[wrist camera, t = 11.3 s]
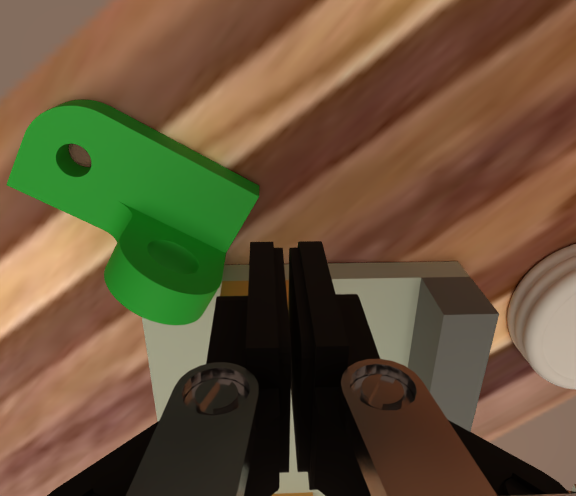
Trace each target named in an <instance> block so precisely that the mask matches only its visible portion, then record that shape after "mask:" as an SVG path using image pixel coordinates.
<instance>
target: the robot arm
mask: <svg viewBox="0 0 576 496" xmlns="http://www.w3.org/2000/svg"><path fill="white" fill-rule="evenodd" d="M291 397H292V410H293V422H294V435H295V447H296V460H297V470H298V472H308V480H309V490H319V491H320V492H321V493H323V494H324V495H325V496H576V484H574V486H573V488H572V491H568V490H566V489H565V488H564V487H563V486H562V485H561V484H560V483H559V482H557V481H556V480H554V479H553V478H551V477H550V476H548V475H547V474H545V473H544V472H542V471H540V470H538V469H537V468H535V467H533V466H531V465H529V464H527V463H526V462H524V461H522V460H520V459H518V458H517V457H515V456H513V455H511V454H509V453H508V452H506V451H504V450H502V449H500V448H498V447H497V446H495V445H493V444H491V443H489V442H488V441H486V440H484V439H482V438H480V437H479V436H477V435H475V434H473V433H471V432H469V431H468V430H466V429H464V428H462V427H460V426H459V425H457V424H455V423H453V422H451V421H450V420H448V419H447V418H446V416H445V415H444V413H443V412H442V410H441V409H440V407H439V406H438V404H437V403H436V401H435V400H434V398H433V397H432V395H431V393H430V392H429V390H428V389H427V387H426V386H425V384H424V383H423V381H422V380H421V379H420V378H419V377H418V375H417V374H416V373H415V372H413V371H412V370H410V369H409V368H407V367H406V366H404V365H402V364H399V363H397V362H394V361H390V360H385V359H380V357H379V354H378V351H377V348H376V345H375V342H374V339H373V336H372V333H371V330H370V328H369V325H368V322H367V319H366V316H365V313H364V310H363V307H362V304H361V301H360V298H359V296H358V295H357V294H335V290H334V286H333V282H332V278H331V275H330V271H329V267H328V263H327V260H326V256H325V252H324V248H323V244H322V242H321V241H315V242H298V248H290V249H289V298H288V303H287V292H286V281H285V270H284V259H283V248H274V246H273V242H250V262H249V284H248V296H217V298H216V303H215V310H214V316H213V322H212V329H211V335H210V342H209V348H208V355H207V361H206V364H205V365H200V366H198V367H196V368H194V369H192V370H190V371H188V372H187V373H186V374H185V375H183V376H182V377H181V378H180V379H179V381H178V382H177V384H176V385H175V387H174V389H173V391H172V393H171V396H170V398H169V400H168V402H167V405H166V407H165V409H164V411H163V413H162V416H161V418H160V420H159V421H158V422H156V423H155V424H153V425H152V426H150V427H149V428H147V429H146V430H144V431H143V432H141V433H140V434H138V435H137V436H135V437H134V438H132V439H131V440H129V441H128V442H126V443H125V444H123V445H122V446H120V447H119V448H117V449H116V450H114V451H113V452H111V453H110V454H108V455H106V456H105V457H103V458H102V459H100V460H99V461H97V462H96V463H94V464H93V465H91V466H90V467H88V468H87V469H85V470H84V471H82V472H81V473H79V474H78V475H76V476H75V477H73V478H72V479H70V480H69V481H67V482H66V483H64V484H63V485H61V486H59V487H58V488H56V489H55V490H54V491H52V492H51V493H50V494H49V495H47V496H272V495H273V494H274V493H275V492H276V491H278V489H279V482H280V473H288V472H289V456H290V407H291Z"/></svg>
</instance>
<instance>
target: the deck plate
mask: <svg viewBox="0 0 576 496" xmlns="http://www.w3.org/2000/svg"><path fill="white" fill-rule="evenodd" d="M328 267H329V271H330V275H331V278H332V282H333V286H334V290H335V294H357V295H358V296H359V298H360V301H361V304H362V307H363V310H364V313H365V316H366V319H367V322H368V325H369V328H370V330H371V333H372V336H373V339H374V342H375V345H376V348H377V351H378V354H379V357H380V359H385V360H390V361H394V362H397V363H399V364H402V365H404V366H406V367H407V368H409V369H410V370H412V371H413V372H415V373H416V374H417V375H418V377H419V378H420V379H421V380H422V381H423V383H424V384H425V386H426V387H427V389H428V390H429V392H430V393H431V395H432V397H433V398H434V400H435V401H436V403H437V404H438V406H439V407H440V409H441V410H442V412H443V413H444V415H445V416H446V418H447V419H448V420H450V421H451V422H453V423H455V424H457V425H459V426H460V427H462V428H464V429H466V430H468V431H469V432H470V431H471V427H472V423H473V419H474V415H475V411H476V407H477V402H478V398H479V394H480V390H481V386H482V382H483V378H484V374H485V369H486V365H487V361H488V357H489V353H490V349H491V345H492V341H493V337H494V332H495V328H496V324H497V320H498V316H499V313H498V312H497V311H496V309H495V308H494V307H493V305H492V304H491V303H490V302H489V300H488V299H487V298H486V297H485V295H484V294H483V293H482V292H481V290H480V289H479V288H478V286H477V285H476V284H475V283H474V281H473V280H472V279H471V278H470V276H469V275H468V274H467V272H466V271H465V270H464V269H463V267H462V266H461V265H460V264H459V262H458V261H452V262H389V263H328ZM284 270H285V281H286V292H287V303H288V298H289V264H284ZM248 284H249V265H224V269H223V276H222V282H221V285H220V287H219V288H218V290H217V292H216V293H215V295H214V297H213V298H212V300H211V302H210V303H209V305H208V307H207V308H206V310H205V312H204V313H203V315H202V316H201V317H200V318H199V319H198V320H197V321H195V322H193V323H190V324H186V325H166V324H161V323H157V322H153V321H150V320H148V319H145V318H143V317H142V321H143V327H144V334H145V341H146V347H147V354H148V361H149V367H150V374H151V381H152V387H153V394H154V401H155V407H156V414H157V421H159V420H160V418H161V416H162V413H163V411H164V409H165V407H166V405H167V402H168V400H169V398H170V396H171V393H172V391H173V389H174V387H175V385H176V384H177V382H178V381H179V379H180V378H181V377H182V376H183V375H185V374H186V373H187V372H188V371H190V370H192V369H194V368H196V367H198V366H200V365H205V364H206V361H207V355H208V348H209V342H210V335H211V329H212V322H213V316H214V310H215V303H216V298H217V296H248ZM272 496H325V495H324V494H323V493H321V492H320V491H319V490H309V480H308V472H298V470H297V460H296V447H295V435H294V422H293V410H292V397H291V407H290V456H289V472H288V473H280V482H279V489H278V491H276V492H275V493H274V494H273V495H272Z"/></svg>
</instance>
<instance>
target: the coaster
mask: <svg viewBox="0 0 576 496" xmlns="http://www.w3.org/2000/svg"><path fill="white" fill-rule="evenodd" d="M507 324H508V329H509V333H510V336H511V339H512V341H513V343H514V344H515V346H516V347H517V349H518V350H519V351H520V352H521V354H522V355H523V356H524V358H525V359H526V360H527V361H528V362H529V364H530V365H531V367H532V368H533V370H534V371H535V372H536V373H537V374H538V375H540V376H541V377H542V378H544V379H545V380H547V381H548V382H550V383H552V384H554V385H557V386H560V387H563V388H568V389H576V244H573V245H571V246H568V247H565V248H563V249H561V250H559V251H557V252H554V253H553V254H551V255H549V256H548V257H546V258H545V259H543V260H542V261H541V262H539V263H538V264H537V265H536V266H534V267H533V268H532V269H531V270H530V271H529V272H528V273H527V274H526V275H525V277H524V278H523V279H522V280H521V282H520V283H519V284H518V286H517V288H516V290H515V291H514V293H513V295H512V298H511V300H510V304H509V307H508V314H507Z"/></svg>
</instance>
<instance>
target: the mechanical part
mask: <svg viewBox="0 0 576 496" xmlns="http://www.w3.org/2000/svg"><path fill="white" fill-rule="evenodd" d="M69 144H77V145H79V146H81V147H83V148H84V149H85V150H86V151H87V152H88V154H89V155H90V157H91V162H92V165H91V167H83V166H80V165H78V164H77V163H75V162H74V161H73V159H72V158H71V156H70V154H69V149H68V148H69ZM7 185H8V186H10V187H12V188H14V189H16V190H18V191H21V192H23V193H25V194H27V195H29V196H31V197H34V198H36V199H38V200H40V201H42V202H44V203H47V204H49V205H51V206H53V207H55V208H57V209H60V210H62V211H64V212H66V213H68V214H70V215H73V216H75V217H77V218H79V219H81V220H83V221H86V222H88V223H90V224H92V225H94V226H96V227H99V228H101V229H103V230H105V231H107V232H108V233H110V234H111V235H112V236H113V237H114V238H115V239H116V241H117V245H116V247H115V249H114V251H113V253H112V255H111V257H110V259H109V261H108V264H107V266H106V268H105V271H104V278H105V282H106V285H107V287H108V289H109V290H110V292H111V293H112V295H113V296H114V297H115V298H116V299H117V300H118V301H119V302H120V303H121V304H122V305H123V306H125V307H126V308H127V309H129V310H130V311H132V312H133V313H135V314H137V315H139V316H141V317H143V318H145V319H148V320H150V321H153V322H157V323H161V324H166V325H186V324H190V323H193V322H195V321H197V320H198V319H199V318H200V317H201V316H202V315H203V313H204V312H205V310H206V308H207V307H208V305H209V303H210V302H211V300H212V298H213V297H214V295H215V293H216V292H217V290H218V288H219V287H220V285H221V282H222V276H223V269H224V262H225V256H226V252H227V250H228V249H229V247H230V245H231V244H232V242H233V240H234V238H235V237H236V235H237V233H238V232H239V230H240V228H241V227H242V225H243V223H244V221H245V220H246V218H247V216H248V215H249V213H250V211H251V210H252V208H253V206H254V204H255V203H256V201H257V199H258V198H259V185H257V184H255V183H253V182H251V181H249V180H247V179H246V178H244V177H242V176H240V175H238V174H236V173H234V172H232V171H231V170H229V169H227V168H225V167H223V166H221V165H219V164H217V163H216V162H214V161H212V160H210V159H208V158H206V157H204V156H202V155H201V154H199V153H197V152H195V151H193V150H191V149H189V148H188V147H186V146H184V145H182V144H180V143H178V142H176V141H174V140H173V139H171V138H169V137H167V136H165V135H163V134H161V133H159V132H158V131H156V130H154V129H152V128H150V127H148V126H146V125H144V124H143V123H141V122H139V121H137V120H135V119H133V118H131V117H130V116H128V115H126V114H124V113H122V112H120V111H118V110H116V109H115V108H113V107H111V106H109V105H106V104H104V103H101V102H97V101H92V100H73V101H68V102H65V103H63V104H60V105H58V106H56V107H54V108H52V109H49V110H47V111H45V112H44V113H42V114H40V115H39V116H38V117H36V118H35V119H34V120H33V121H32V123H31V124H30V125H29V127H28V128H27V130H26V132H25V134H24V137H23V140H22V143H21V145H20V148H19V151H18V154H17V157H16V160H15V162H14V165H13V168H12V171H11V174H10V177H9V179H8V182H7Z"/></svg>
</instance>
